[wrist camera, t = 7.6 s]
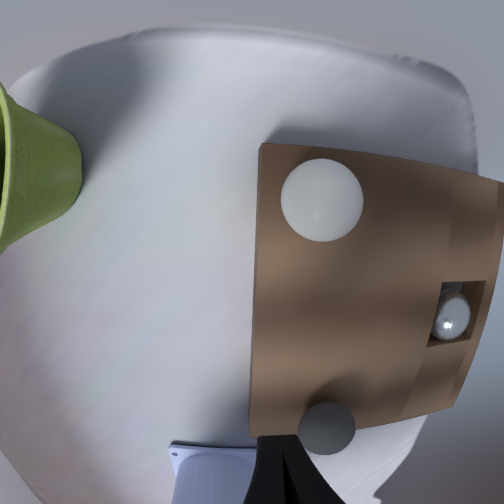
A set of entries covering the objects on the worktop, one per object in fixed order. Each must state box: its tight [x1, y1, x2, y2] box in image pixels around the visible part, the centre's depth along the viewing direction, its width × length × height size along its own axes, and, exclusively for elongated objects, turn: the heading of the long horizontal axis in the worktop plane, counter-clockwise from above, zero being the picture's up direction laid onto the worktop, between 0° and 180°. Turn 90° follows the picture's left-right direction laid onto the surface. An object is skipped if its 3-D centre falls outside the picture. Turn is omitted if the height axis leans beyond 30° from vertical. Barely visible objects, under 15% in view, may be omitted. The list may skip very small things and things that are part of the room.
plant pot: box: [0, 82, 82, 255], centre depth 11 cm, size 9×9×9 cm
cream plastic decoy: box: [281, 159, 363, 242], centre depth 12 cm, size 4×4×4 cm
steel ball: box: [430, 289, 471, 340], centre depth 17 cm, size 4×4×4 cm
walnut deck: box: [248, 143, 504, 438], centre depth 17 cm, size 18×17×2 cm
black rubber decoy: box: [298, 402, 356, 455], centre depth 15 cm, size 4×4×4 cm
